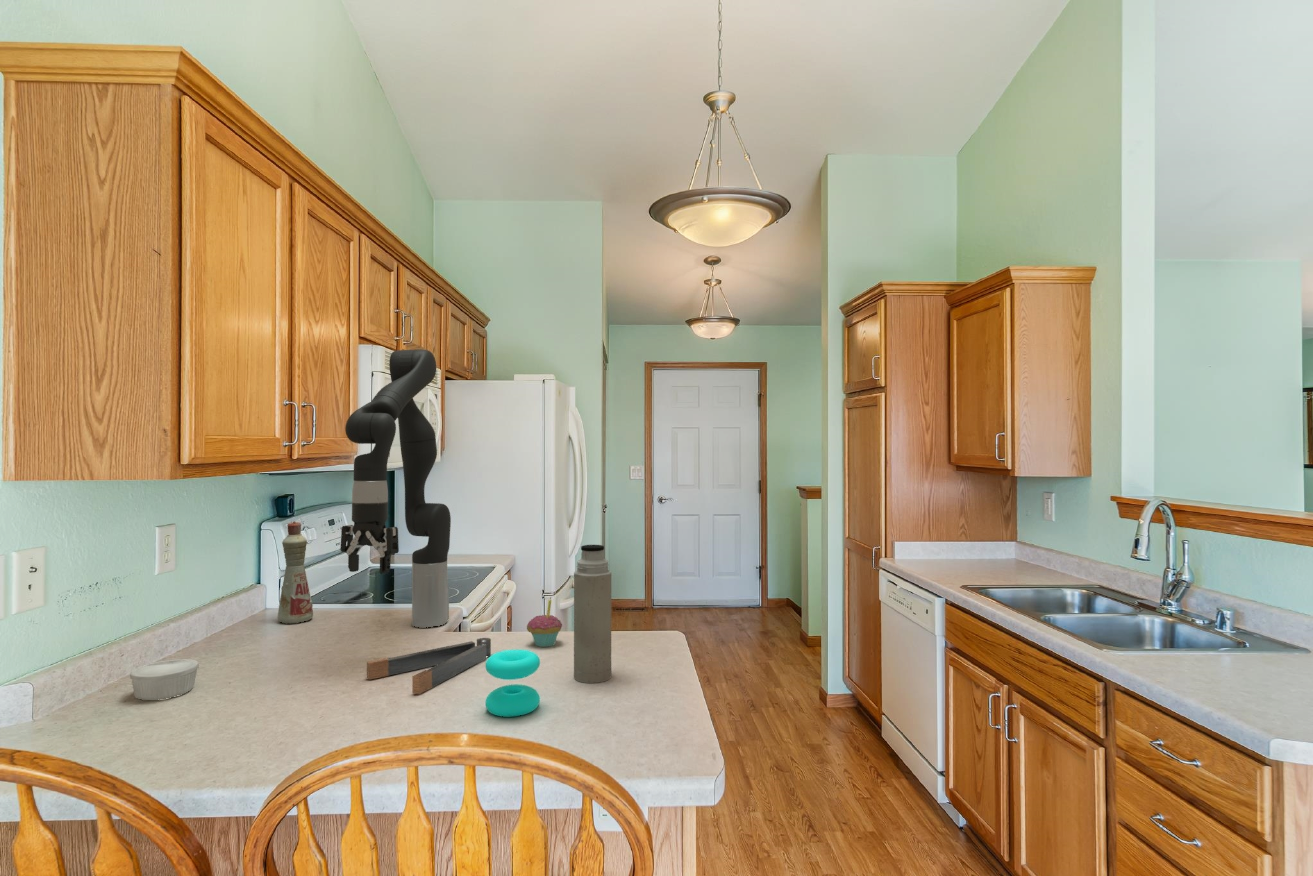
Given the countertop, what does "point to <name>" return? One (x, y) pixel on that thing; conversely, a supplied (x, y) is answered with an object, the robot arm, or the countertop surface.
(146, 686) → the ramekin
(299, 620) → the bottle
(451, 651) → the tongs arm
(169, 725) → the countertop surface
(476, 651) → the base
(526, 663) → the donuts
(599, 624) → the thermos bottle
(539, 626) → the cupcake
